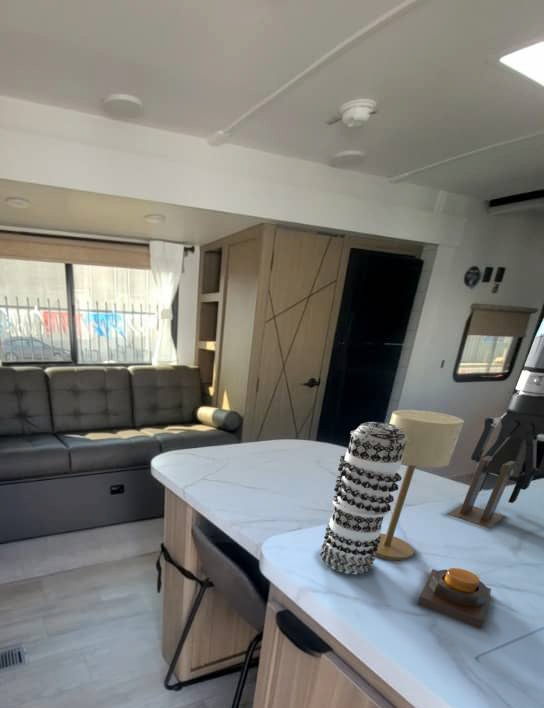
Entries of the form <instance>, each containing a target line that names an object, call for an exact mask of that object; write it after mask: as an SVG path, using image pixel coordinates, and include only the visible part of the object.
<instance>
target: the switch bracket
mask: <svg viewBox="0 0 544 708" xmlns="http://www.w3.org/2000/svg"><path fill="white" fill-rule="evenodd" d="M483 457H484V456H483ZM493 459H494V456H493V457H492V456H486V457H484V458H482V459H480V462H479V463H478V462H477V464H476V468H475V469H476V470H475V472H474V474H473V477H472V480H471V482H470V485H469V488H468V490H467V492H466V496H465V499H464V501H463V503H462V504H461V505H459V506H457V507H455V508H454V509H452V510H451V511H449V512H448V513H446V515H447V516H450V517H454V518H457V519H459V520H463V521H466V522H469V523H473V524H475V525H478V526H480V527H483V528H487V529H491V528H492V527H493V526H494V525H496V524H497V523H498V522H500V520H502V519H503V518H505V517H506V516H505V515H504V514H500V513H497V512H496V509H497V508H498V505H499V502H500V501H501V498H502V496H503V494H504V491H505V489H506V487H507V484H508V482H509V481H510V480H509V477H510V476H511V475H513V474H514V472H515V469H514V468H515V466H516V463H517V462H516V461H513V460H509V461H507V462H505V463H503V464H504V465H503V467H502V469H501V472H500V474H499V477H497V479H496V482H495V483H494V486H493V489H492V491H491V493H490V496H489V498H488V500H487V503H486V505H485V508H481V507H477V506H475V503H476V500H477V498H478V496H479V493H480V492H481V491H480V488H481V486H482V483H483V481H484V478H485V476H486V472H485V470H486V468H487V466H488V464H489V462H490V461H493ZM479 491H480V492H479Z"/></svg>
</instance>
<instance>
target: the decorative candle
mask: <svg viewBox="0 0 544 708" xmlns="http://www.w3.org/2000/svg"><path fill="white" fill-rule="evenodd" d="M349 433H350V439H349V443H348V448H347V449H346V452H345V454H344V455H341V456H340V458H339V462H340V463H338V467H337V471H338V472H339V474H338V475H336V480H335V482H336V483H335V486H334V488H333V492H335V494H334V495H333V499H332V503H333V505H334V507H333V512H332V514H331V516H330V519H329V523H327V525H326V527H325V531H326V532H325V535H324V536H323V538H324V540H323V541H322V544H321V549H320V552H319V555H320V557H321V560H322V562H323V563H324V564H326V565H327V566H328V568H330V569H332V570H334V571H337V572H340V573H343V574H346V575H347V574H348V575H360V574H361V575H362V574H365V573H366V572H367V573H368V572H369V570H371V569H373V568H374V566H373V564H374V562H375V560H376V558H375V557H377V556H376V554H375V553H374V552H376V551H377V550H378V549H377V547H378V543H380V539H381V537H380V536H379V535H380V533H381V532H382V523H383V521H384V517H385V516H387V515H388V514H389V512H390V511H391V510H392V508H391V507H392V506H391V505H390V504H391V503H393V502H394V501H395V497H394V496H393V495H392V494H391V493H393V492H396V491H398V490H399V485H398V484H397V482H400V481H402V475H400V474H399V473H398V470H400V469H401V466H402V463H401V462H402V458H401V457H402V454H403V451H404V447H405V444H406V442H409V439H408V438H407V437H405V435H404V432H403V430H402V429H401V428H400V427H398V426H395V425H392V424H389V423H386V422H377V421H367V422H363V423H361V424H360V425H359V426H358V427H357V428H356V429H353V430H351V431H350V432H349Z"/></svg>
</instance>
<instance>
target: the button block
mask: <svg viewBox="0 0 544 708" xmlns="http://www.w3.org/2000/svg"><path fill="white" fill-rule="evenodd" d="M448 570H449V569H441V570H440V569H439V570H436V569H433V568H432V569H431V570H430V573H429V575H428V578H427V579H426V582H425V584H424V586H423V588H422V590H421V592H420V594H419V597H418V600H417V603H416V605H418V606H420V607H423V608H425V609H427V610H430V611H433V612H436V613H438V614H441V615H444V616H446V617H448V618H451V619H454V620H457V621H459V622H462V623H464V624H466V625H469V626H472V627H473V628H477V629H480V630H481V629H482V628H483V626H484V624H485V622H486V617H487V612H488V608H489V601H490V598H491V591H492V588H491V587H487V585H485V583H483V581H481V580H480V581H479V584H478V586H477V588H476V590H475V591H474V592H464V591H461V590H458V589H455V588H453V587H451V586H449V585H448V584H446V583H445V582H444V578H445V576H446V573H447V571H448Z"/></svg>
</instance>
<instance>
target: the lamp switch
mask: <svg viewBox="0 0 544 708" xmlns="http://www.w3.org/2000/svg"><path fill="white" fill-rule="evenodd" d="M504 464H505V463H503V462H498V461H494V460H492V461H490V462H489V464H488V466H487V468H486V470H485V472H486V474H487V476H492V477H495V478H498V477H499V474H500V472H501V469H502V467H503V465H504ZM518 478H519V475H518V476H517V475H513V474H512V475H511V476H510V477H509V480H508V481H511V482H515V483H517V481H518Z"/></svg>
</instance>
